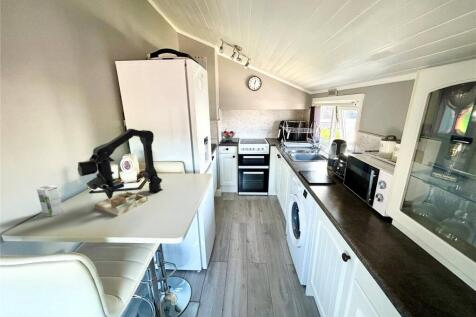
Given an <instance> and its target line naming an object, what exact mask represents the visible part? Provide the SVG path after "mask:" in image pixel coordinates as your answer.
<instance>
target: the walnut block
mask: <svg viewBox="0 0 476 317" xmlns="http://www.w3.org/2000/svg"><path fill="white" fill-rule="evenodd" d="M110 201H111V207H112V208H115V209H116V207H118V206H120V205H122V204H124V203H126V198H123V197H117V198H115V199H112V200H110Z"/></svg>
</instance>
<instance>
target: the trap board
mask: <svg viewBox="0 0 476 317" xmlns="http://www.w3.org/2000/svg"><path fill="white" fill-rule="evenodd" d="M117 197H123V198H126V203H124V204H122V205H120V206H118V207H116V209H115V208H112V207H111V201H110V200H112V199H115V198H117ZM148 198H149V197H148V196H145V195H141V194H139V193H134V192H131V191H126V190H125V191H123V192H120V193H118V194H115V195H112V198H110V199H109V198H108V197H107V198H106V199H103V200H101V201H98V202H96V203H95V202H94V208H95V209H96V210H99V211H102V212H106V213H107V214H111V215H114V216H117V217H119V216H122V215H123V214H124V213H127V212H129V211H131V210H133V209H135V208H137V207H139V206H141V205H143V204H145V203H146V201H147V202H148V201H149V199H148ZM144 202H145V203H144Z"/></svg>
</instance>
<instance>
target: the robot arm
mask: <svg viewBox="0 0 476 317" xmlns="http://www.w3.org/2000/svg"><path fill="white" fill-rule="evenodd" d="M154 136H155V135H154V133H153V131H151V130H149V129H148V130H146V129H142V130H139V129H135V128H128V129H127V130H126V131H124V132H123V133H120V134H119V135H118V136H116V137H115V138H113V139H112V140H110V141H109V142H106V143H103V144H101V145H98V146H96V147H94V148H93V150H92V154H91V156H90V158H89V160H87V161H79V162H77V172H78V175H79V176H80V177H85V176H90V175H93V174H94V175H95V174H96V176H95V177H94V178H92V179H91V180H89V181H88V182H86V185H87V187H88V188H89V189H90V190H93V191H95V190H97V189H101V190H103V192H104V194H105V195H106V197H107V199H108V198H109V199H110V198H112V197H113V196H114V195H113V194H114V192H115V191H117V190H119V189H122V188H124V187H125V183H124V182H123V181H119V180H117V181H116V178H114V177H113V174H115V173H114V171H112V165H111V164H112V163H111V162H115V159H113V158H112V157H111V156H112V155H113V154H114V152H115V151H116V149H118V148H119V147H120V146H122V145H124V144H125V143H126V142H128V141H129V140H130V139H133V137H138V138H139V140H140V142H141V144H142V148H143V155H144V156H143V158H144V165H145V166H144V167H145V168H144V169H143V170H142V177H143V179H144V180H146V181H147V183H148V192H149V193H152V194H157V193H159V192H162V191H163V188H162V186H161V183H162V180H163V179H162V178H161V177H159V176H158V172H157V169H155V163H154V155H153V147H152V146H153V142H154V138H155V137H154ZM97 172H98V173H97Z"/></svg>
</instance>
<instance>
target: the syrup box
mask: <svg viewBox="0 0 476 317" xmlns="http://www.w3.org/2000/svg"><path fill="white" fill-rule="evenodd" d="M36 193H37V197H38V199H39V200H38V201H39V204H40V207H41V211H42V214H43V216H46V217H54V216H56V215H59V214H60V213H62V212H64V207H63V204H62V199H61V196H60V192H59V187H58V186H57V185H51V184H48V185H44V186H40V187H38V188H36Z"/></svg>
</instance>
